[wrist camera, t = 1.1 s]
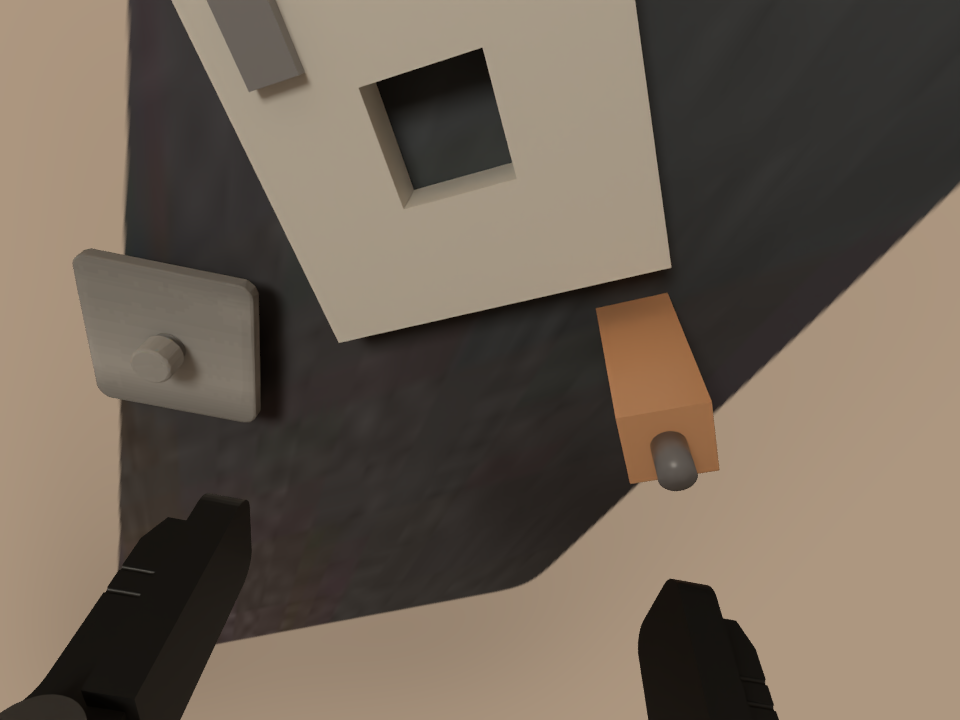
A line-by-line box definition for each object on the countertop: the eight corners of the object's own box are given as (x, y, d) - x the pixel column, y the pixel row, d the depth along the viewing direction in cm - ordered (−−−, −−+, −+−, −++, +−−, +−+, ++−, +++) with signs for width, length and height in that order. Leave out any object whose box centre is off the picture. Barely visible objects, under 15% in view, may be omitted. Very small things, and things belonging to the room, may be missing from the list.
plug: (667, 292, 33) (724, 432, 23) (675, 351, 35) (731, 503, 25) (595, 308, 34) (621, 449, 24) (608, 364, 36) (636, 516, 26)
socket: (598, -190, 23) (608, -214, 20) (660, 244, 32) (674, 274, 29) (193, -29, 27) (147, -28, 23) (352, 316, 36) (334, 350, 33)
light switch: (271, 266, 35) (234, 308, 30) (272, 399, 40) (241, 450, 36) (99, 232, 34) (38, 269, 30) (124, 371, 40) (75, 419, 35)
